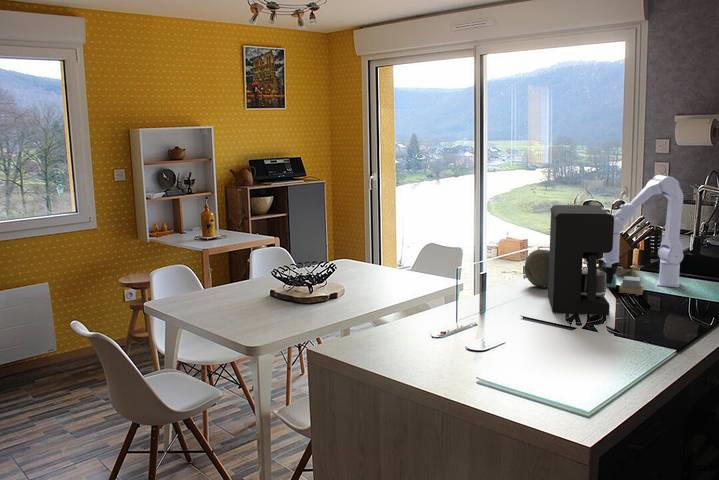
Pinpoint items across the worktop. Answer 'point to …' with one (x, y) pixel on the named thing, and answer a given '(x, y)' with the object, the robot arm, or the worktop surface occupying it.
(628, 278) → the grey square block
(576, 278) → the coffee maker
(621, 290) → the walnut slab
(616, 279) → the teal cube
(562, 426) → the worktop surface
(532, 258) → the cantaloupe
